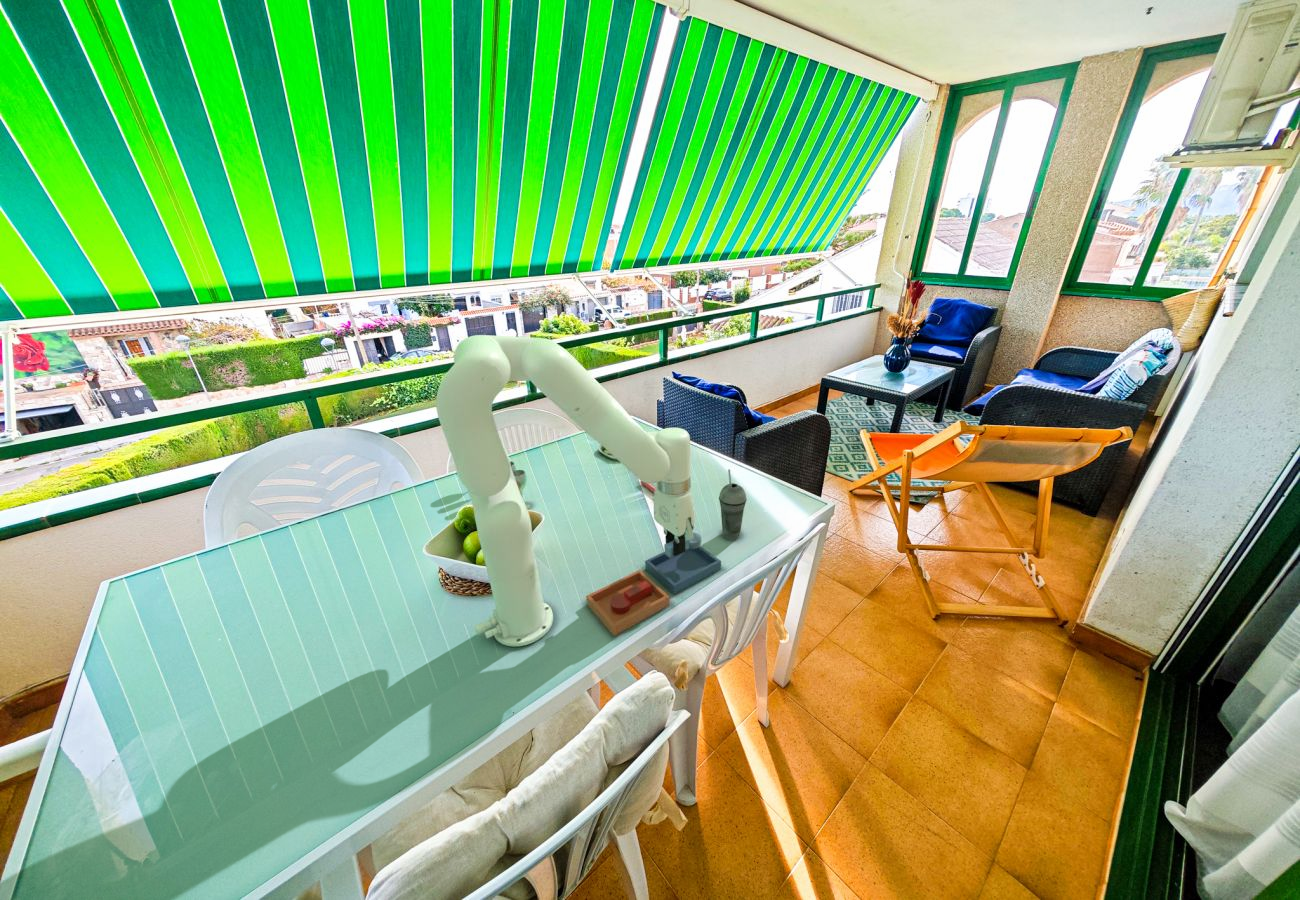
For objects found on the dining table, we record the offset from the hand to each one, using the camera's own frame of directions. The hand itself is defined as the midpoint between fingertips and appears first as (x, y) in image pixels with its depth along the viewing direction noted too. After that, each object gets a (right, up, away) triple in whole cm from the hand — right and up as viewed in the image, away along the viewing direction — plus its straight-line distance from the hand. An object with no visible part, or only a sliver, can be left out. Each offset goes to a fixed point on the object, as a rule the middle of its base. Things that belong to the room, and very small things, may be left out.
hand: (675, 550), depth 109 cm
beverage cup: (+16, 0, +16) cm, 23 cm away
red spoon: (-10, -10, -6) cm, 16 cm away
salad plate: (-17, +23, +70) cm, 76 cm away
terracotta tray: (-11, -11, -7) cm, 17 cm away
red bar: (-3, +8, +36) cm, 37 cm away
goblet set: (-55, +9, +41) cm, 69 cm away
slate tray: (+2, -6, +4) cm, 7 cm away
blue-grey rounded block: (+2, 0, +1) cm, 2 cm away
